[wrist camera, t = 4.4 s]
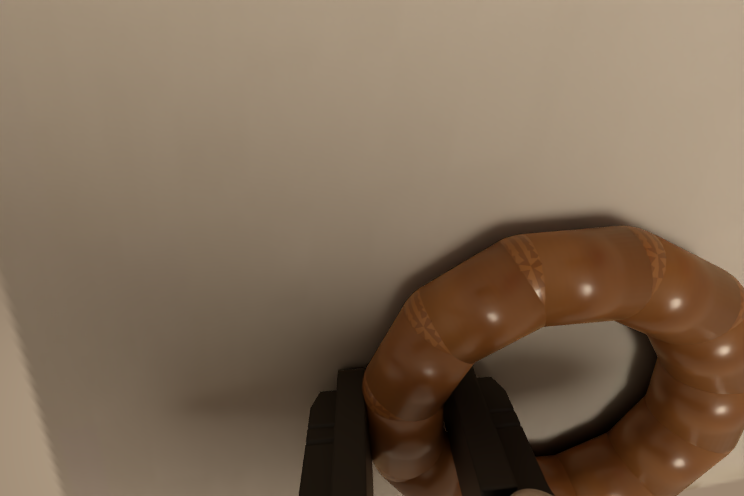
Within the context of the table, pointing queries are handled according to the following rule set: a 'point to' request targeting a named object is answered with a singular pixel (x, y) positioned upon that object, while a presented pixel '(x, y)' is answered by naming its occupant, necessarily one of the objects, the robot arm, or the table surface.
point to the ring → (563, 307)
